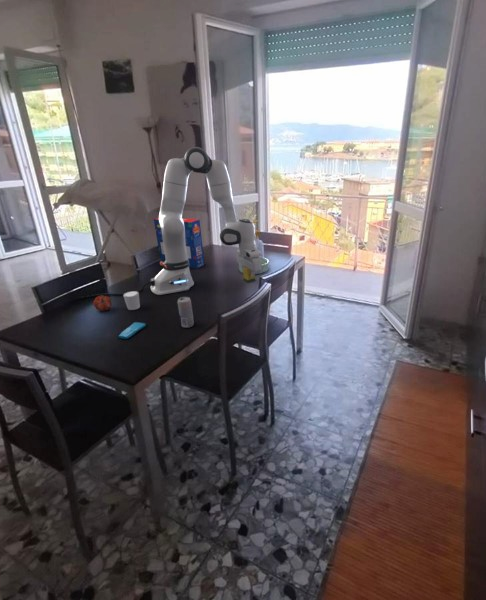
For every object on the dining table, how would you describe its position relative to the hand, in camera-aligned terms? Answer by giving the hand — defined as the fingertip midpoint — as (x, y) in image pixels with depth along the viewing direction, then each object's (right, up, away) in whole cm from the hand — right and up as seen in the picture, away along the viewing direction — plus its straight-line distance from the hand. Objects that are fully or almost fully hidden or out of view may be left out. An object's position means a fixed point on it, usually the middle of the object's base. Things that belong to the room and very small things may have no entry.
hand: (249, 274), depth 193 cm
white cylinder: (-53, -17, -26) cm, 61 cm away
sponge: (-46, -27, -47) cm, 71 cm away
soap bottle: (+3, +13, +35) cm, 37 cm away
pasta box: (-44, +9, +30) cm, 54 cm away
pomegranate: (-66, -18, -27) cm, 74 cm away
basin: (+2, +4, +17) cm, 17 cm away
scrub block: (0, -3, +1) cm, 3 cm away
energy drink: (-23, -24, -43) cm, 55 cm away
